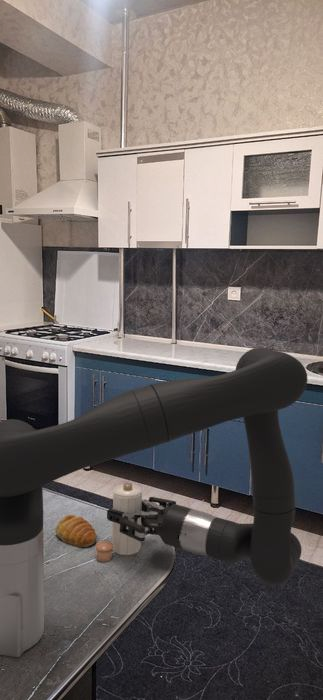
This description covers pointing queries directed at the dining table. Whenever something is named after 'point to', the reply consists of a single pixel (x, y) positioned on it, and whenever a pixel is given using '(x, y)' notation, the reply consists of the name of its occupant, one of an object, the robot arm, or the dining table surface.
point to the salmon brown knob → (104, 551)
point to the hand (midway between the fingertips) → (117, 507)
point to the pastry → (76, 531)
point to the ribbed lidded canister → (128, 502)
